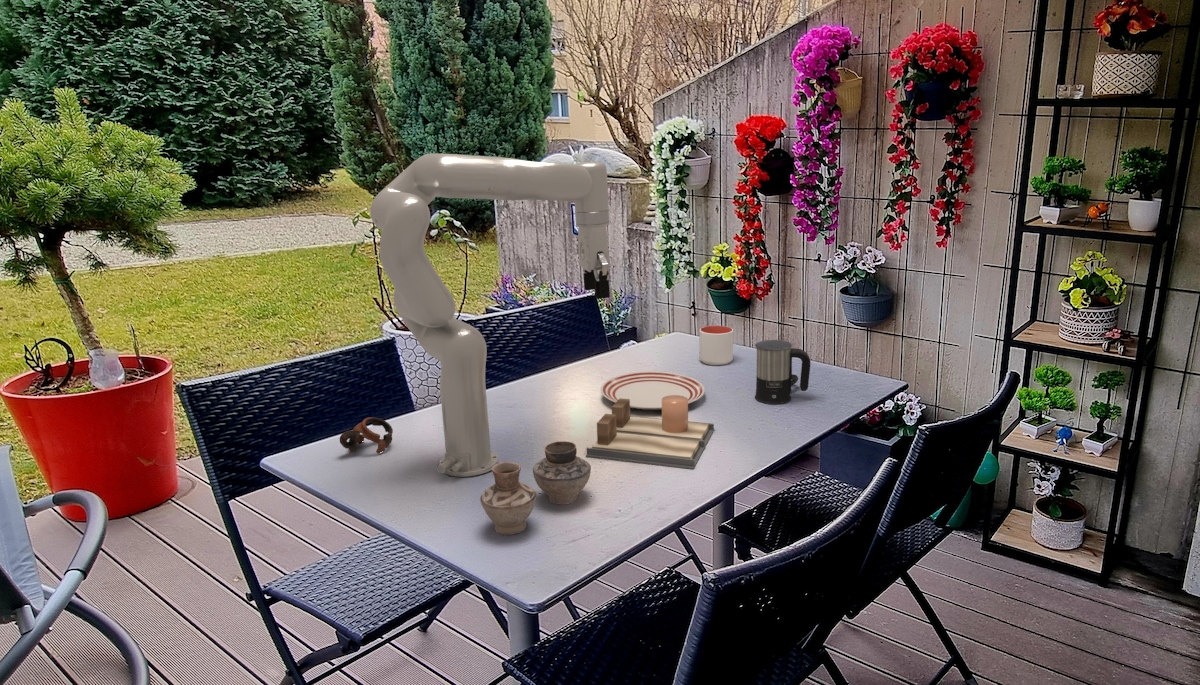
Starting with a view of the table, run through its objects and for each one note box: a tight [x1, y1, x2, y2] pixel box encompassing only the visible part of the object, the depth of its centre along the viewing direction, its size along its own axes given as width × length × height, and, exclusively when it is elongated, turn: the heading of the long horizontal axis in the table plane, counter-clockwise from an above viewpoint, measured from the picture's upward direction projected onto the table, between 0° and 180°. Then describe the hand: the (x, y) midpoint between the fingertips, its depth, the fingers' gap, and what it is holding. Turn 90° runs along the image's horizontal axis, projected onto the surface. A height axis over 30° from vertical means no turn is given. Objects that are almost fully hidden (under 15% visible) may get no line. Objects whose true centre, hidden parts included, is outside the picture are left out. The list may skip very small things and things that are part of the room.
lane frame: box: [585, 415, 715, 470], centre depth 176 cm, size 22×24×2 cm
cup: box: [698, 325, 734, 366], centre depth 233 cm, size 10×10×10 cm
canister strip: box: [611, 398, 709, 440], centre depth 180 cm, size 9×22×6 cm, turn 71°
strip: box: [591, 413, 699, 459], centre depth 170 cm, size 9×22×6 cm, turn 71°
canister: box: [661, 395, 689, 433], centre depth 178 cm, size 6×6×7 cm
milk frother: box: [754, 339, 811, 405], centre depth 203 cm, size 14×16×15 cm
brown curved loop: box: [339, 416, 394, 454], centre depth 176 cm, size 12×10×8 cm
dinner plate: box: [600, 370, 706, 411], centre depth 205 cm, size 27×27×3 cm
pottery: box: [479, 440, 592, 536], centre depth 145 cm, size 11×25×12 cm, turn 141°
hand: (596, 293), depth 177 cm, fingers open, 9 cm apart
